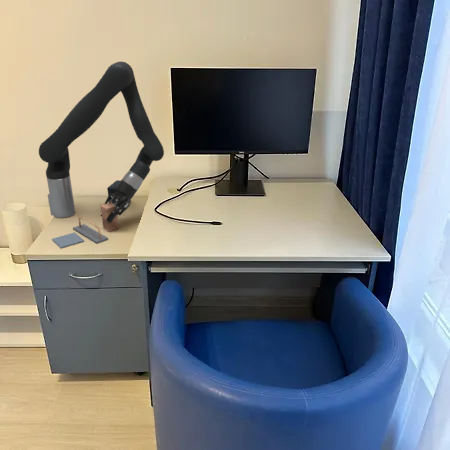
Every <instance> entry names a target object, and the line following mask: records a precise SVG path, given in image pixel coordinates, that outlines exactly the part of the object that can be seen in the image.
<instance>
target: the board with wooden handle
mask: <svg viewBox="0 0 450 450" xmlns="http://www.w3.org/2000/svg"><path fill="white" fill-rule="evenodd" d="M81 219H82V220H86V221H87V222H90V223H91V224H92V225H93V226H94V227H95V228H96V229H98V231H97V230H95V229H94V228H91V227H90V226H89V225H87V224H84V223H83V224H82V223H81ZM77 220H78V225H77V226H74V227H72V230H73V231H74V232H75V233H77V234H79V235H81V236H82V237H85V238H86V239H87V240H89V241H91V242H93V243H94V244H96V245H98V244H101V243H103V242H106V241H109V237H107V236H105V235H104V234H103V233H102V232H101V228H100V227H99V225H97V224H96V223H94V221H92V220H91V219H90V218H88V217H84V216H77Z"/></svg>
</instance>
